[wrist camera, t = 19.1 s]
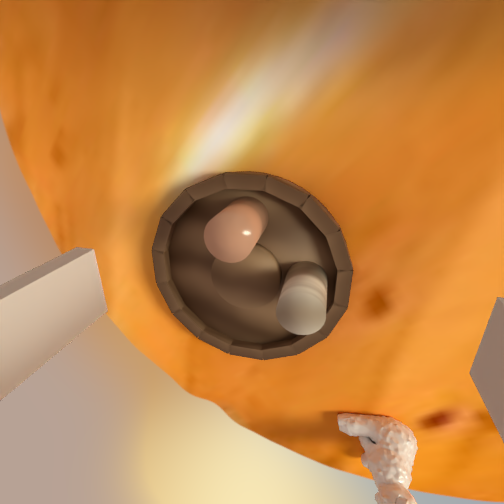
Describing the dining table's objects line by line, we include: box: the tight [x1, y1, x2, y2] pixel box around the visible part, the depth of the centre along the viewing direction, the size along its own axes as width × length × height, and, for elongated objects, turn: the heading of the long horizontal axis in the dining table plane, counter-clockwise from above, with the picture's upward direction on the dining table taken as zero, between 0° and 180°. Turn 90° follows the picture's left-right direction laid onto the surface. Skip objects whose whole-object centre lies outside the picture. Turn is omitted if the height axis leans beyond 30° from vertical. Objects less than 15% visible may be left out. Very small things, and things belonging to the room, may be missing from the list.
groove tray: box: [152, 171, 353, 360], centre depth 36 cm, size 23×23×2 cm
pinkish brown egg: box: [204, 196, 269, 263], centre depth 31 cm, size 5×5×7 cm
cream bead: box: [276, 261, 328, 335], centre depth 32 cm, size 5×5×7 cm
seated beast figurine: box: [338, 413, 418, 504], centre depth 37 cm, size 10×9×12 cm
